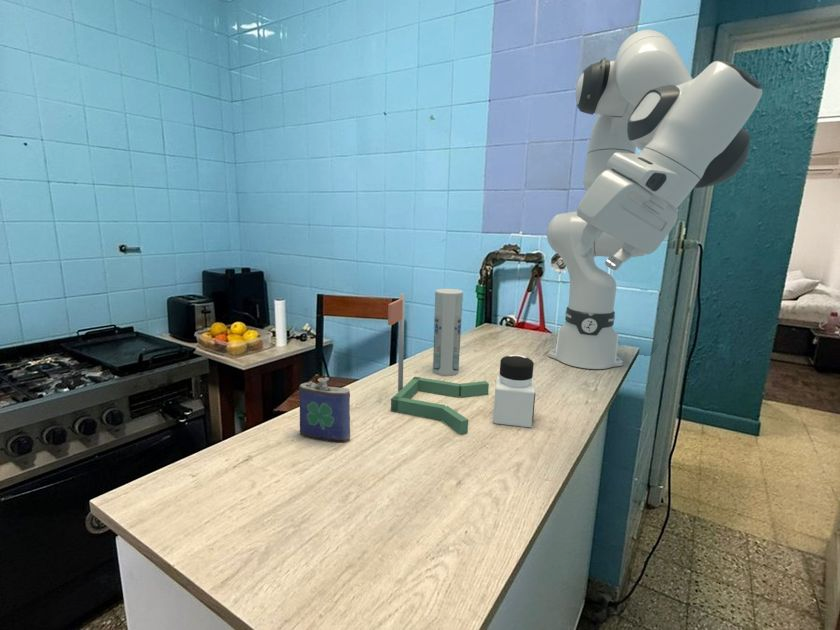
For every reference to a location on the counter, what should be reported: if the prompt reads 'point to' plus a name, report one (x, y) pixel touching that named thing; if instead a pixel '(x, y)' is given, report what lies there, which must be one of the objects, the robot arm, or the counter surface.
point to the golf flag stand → (428, 385)
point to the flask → (324, 412)
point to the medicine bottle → (515, 392)
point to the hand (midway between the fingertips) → (595, 261)
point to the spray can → (447, 331)
